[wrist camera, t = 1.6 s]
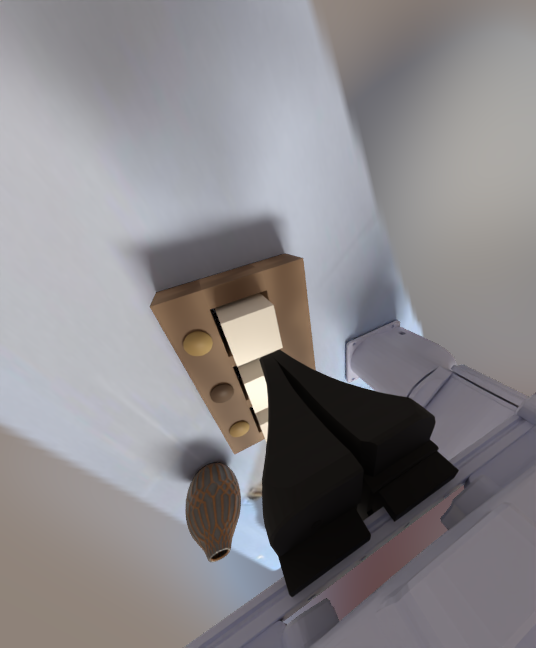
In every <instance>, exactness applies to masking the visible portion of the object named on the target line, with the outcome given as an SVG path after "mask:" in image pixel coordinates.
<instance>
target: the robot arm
mask: <svg viewBox="0 0 536 648" xmlns="http://www.w3.org/2000/svg"><path fill="white" fill-rule="evenodd" d="M259 361H260V364H261V368H262V371H263V374H264V377H265V381H266V385H267V395H268V434H267V446H266V456H265V463H264V470H263V477H262V500H263V501H262V503H263V518H264V524H265V528H266V531H267V535H268V539H269V542H270V545H271V547H272V548H273V549H274V551H275V552H276V554H277V555H278V557H279V561H280V564H281V568H282V571H283V575H284V577H283V578H281V579H280V580H279V581H277V582H276V583H274V584H273V585H271V586H270V587H268V588H267V589H266V590H264V591H263V592H261V593H260V594H258V595H257V596H256V597H254V598H253V599H251V600H250V601H249V602H247V603H246V604H244V605H243V606H241V607H240V608H239V609H237V610H236V611H234V612H233V613H232V614H230V615H229V616H227V617H226V618H224V619H223V620H222V621H220V622H219V623H217V624H216V625H214V626H213V627H212V628H210V629H209V630H207V631H206V632H205V633H203V634H202V635H200V636H199V637H198V638H196V639H195V640H193V641H192V642H190V643H189V644H188V645H186V646H185V647H183V648H536V393H535V394H533V395H532V396H530V397H529V396H527V395H525V394H523V393H521V392H519V391H517V390H515V389H513V388H511V387H509V386H507V385H504V384H502V383H501V382H499V381H497V380H494V379H492V378H490V377H488V376H486V375H484V374H482V373H480V372H478V371H476V370H474V369H472V368H470V367H468V366H466V365H458V366H457V363H456V360H455V359H454V357H453V356H452V355H451V353H450V352H448V350H446V349H445V348H444V347H442V346H441V345H439V344H437V343H435V342H433V341H430V340H428V339H426V338H424V337H422V336H419V335H417V334H415V333H413V332H411V331H409V330H406V329H404V328H402V327H400V321H398V320H396V321H394V322H391V323H389V324H387V325H385V326H383V327H380V328H378V329H376V330H374V331H371V332H369V333H367V334H365V335H362V336H360V337H358V338H356V339H354V340H351V341H349V342H348V343H347V345H346V380H347V382H348V383H350V382H352V381H354V380H356V379H358V378H361V379H362V380H363V381H364V382H365V383H367V384H368V385H369V386H370V387H371V388H372V389H374V390H375V391H373V390H368V389H364V388H361V387H358V386H354V385H351V384H348V383H344V382H342V381H339V380H336V379H334V378H331V377H329V376H326V375H324V374H322V373H320V372H318V371H316V370H314V369H312V368H310V367H308V366H306V365H304V364H302V363H301V362H299V361H297V360H295V359H294V358H292V357H291V356H289V355H287V354H286V353H284V352H283V351H281V350H277V351H275V352H273V353H270V354H268V355H265V356H263V357H261V358H260V359H259ZM462 485H464V490H463V491H462V492H461V493H460V494H459V495H457V496H456V497H455V498H454V499H453V501H452V504H451V506H450V507H449V509H448V510H447V511H446V513H444V515H443V516H442V517H441V518H440V519H441V522H442V523H443V524H444V526H445V527H446V528H447V529H448V531H447V532H445V533H444V534H443V535H442V536H440V537H439V538H438V539H437V540H435V541H434V542H433V543H432V544H431V545H429V546H428V547H427V548H426V549H424V550H423V551H422V552H421V553H420V554H418V555H417V556H416V557H415V558H414V559H412V560H411V561H410V562H409V563H408V564H406V565H405V566H404V567H403V568H402V569H400V570H399V571H398V572H397V573H396V574H395V575H393V576H392V577H391V578H390V579H389V580H388V581H386V582H385V583H384V584H383V585H382V586H380V587H379V588H378V589H377V590H376V591H375V592H373V593H372V594H371V595H370V596H369V597H368V598H366V599H365V600H364V601H363V602H362V603H361V604H359V605H358V606H357V607H356V608H355V609H354V610H352V611H351V612H350V613H349V614H348V615H347V616H346V617H344V618H343V619H342V620H341V621H340V622H339V619H338V617H337V614H336V612H335V609H334V607H333V606H332V605H331V603H330V600H328V599H327V598H326V599H324V600H323V601H321V602H319V603H318V604H316V605H315V606H313V607H311V608H310V609H309V610H307V611H305V612H304V613H302V614H300V615H299V616H298V617H296V618H295V619H294V620H292V621H291V622H290V623H289V624H288V625H287V624H285V623H283V621H285V620H286V619H287V618H289V617H290V616H291V615H293V614H294V613H295V612H297V611H298V610H299V609H300V608H302V607H303V606H305V605H306V604H307V603H309V602H310V601H311V600H312V599H314V598H315V597H316V596H318V595H319V594H320V593H322V592H323V591H324V590H326V589H327V588H328V587H329V586H331V585H332V584H334V583H335V582H336V581H337V580H339V579H340V578H341V577H343V576H344V575H345V574H347V573H348V572H349V571H351V570H352V569H353V568H355V567H356V566H357V565H359V564H360V563H361V562H362V561H364V560H365V559H366V558H368V557H369V556H370V555H371V554H373V553H374V552H376V551H377V550H378V549H379V548H381V547H382V546H384V545H385V544H386V543H387V542H389V541H390V540H391V539H393V538H394V537H395V536H397V535H398V534H399V533H400V532H402V531H403V530H405V529H406V528H407V527H409V526H410V525H411V524H412V523H414V522H415V521H416V520H418V519H419V518H420V517H422V516H423V515H424V514H425V513H427V512H428V511H430V510H431V509H432V508H434V507H435V506H436V505H438V503H440V502H441V501H443V500H444V499H445V498H447V497H448V496H449V495H451V494H452V493H453V492H455V491H456V490H457V489H459V488H460V487H461V486H462Z"/></svg>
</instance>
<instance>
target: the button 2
mask: <svg viewBox="0 0 536 648" xmlns="http://www.w3.org/2000/svg"><path fill="white" fill-rule="evenodd" d="M255 414H256V417H257V419H258V422H259V424H260V427H261V430H262V432H263V435H264V437H265V440H266V443H267V434H268V407H267V408H265V409H263V410H261V411H259V412H257V413H255Z"/></svg>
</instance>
